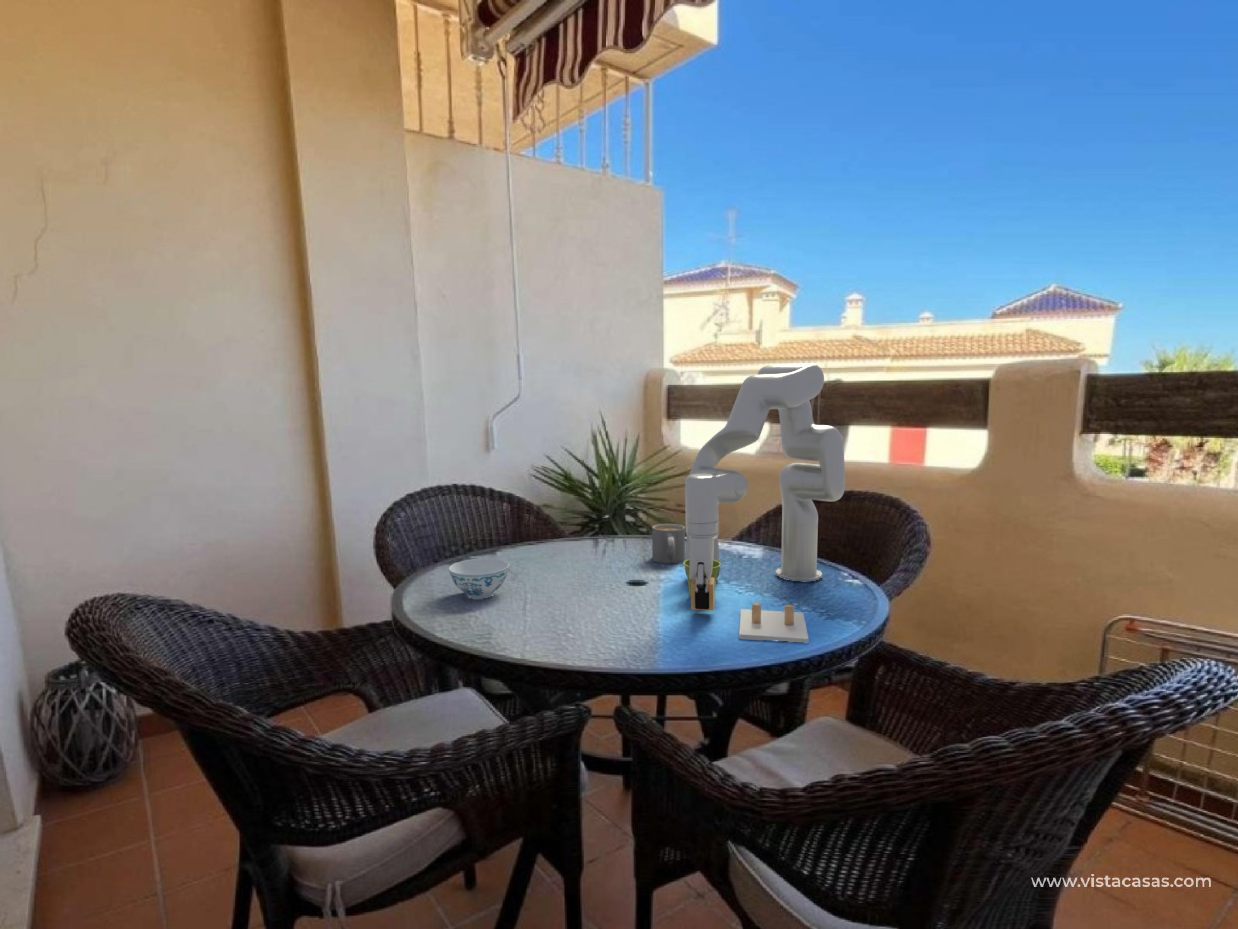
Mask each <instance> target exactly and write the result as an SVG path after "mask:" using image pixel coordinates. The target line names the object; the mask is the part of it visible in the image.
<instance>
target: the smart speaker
mask: <svg viewBox="0 0 1238 929" xmlns="http://www.w3.org/2000/svg"><path fill="white" fill-rule="evenodd" d="M685 543H686V544H685V560H688V559H689V549H690V536H687V535H686V542H685ZM719 544H720V543H719V535H718V536H715V537H714V559H713V560H716V561H718V562H720V563H721V558H720V546H719ZM685 560H684V561H685ZM720 569H721V566H720V567H719V571H718V572H717V578H716V580H717V579H718V578H719V575H720V571H721V570H720ZM684 571H685V575H686V576H687V572H686V570H685V569H684Z"/></svg>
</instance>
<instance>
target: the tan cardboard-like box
mask: <svg viewBox="0 0 1238 929" xmlns="http://www.w3.org/2000/svg"><path fill="white" fill-rule="evenodd" d="M704 579H706V577H704ZM703 582H704V583H705V581H703ZM715 590H716V584H715V578H710V579H709V580H708V592H709V609H696V608H695V591H696V577H695V578H694V579H692V582H691V597H690V599H691V600H690V601H691V602H690V603H691V604H690V605H691V606H690V607H691V611H692V610H693V611H711V612H712V611H714V609H715V605H716V604H715V602H716V600H715V599H716V597H715V596H716V595H715Z"/></svg>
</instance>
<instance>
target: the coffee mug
mask: <svg viewBox="0 0 1238 929" xmlns="http://www.w3.org/2000/svg"><path fill="white" fill-rule="evenodd" d="M651 530H652V532H651V533H652V537H651V541H652V543H651V546H652V548H651V549H652V552H651V553H652V560H653V561H654V562H656V563H661V564H678V563H682V562H684V561H685V555H686V544H685V543H686V542H685V540H686V538H685V537H686V536H685V535H686V526H684V525H681V524H678V523H677V524H676V523H660V524H655V525H652V529H651Z"/></svg>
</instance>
